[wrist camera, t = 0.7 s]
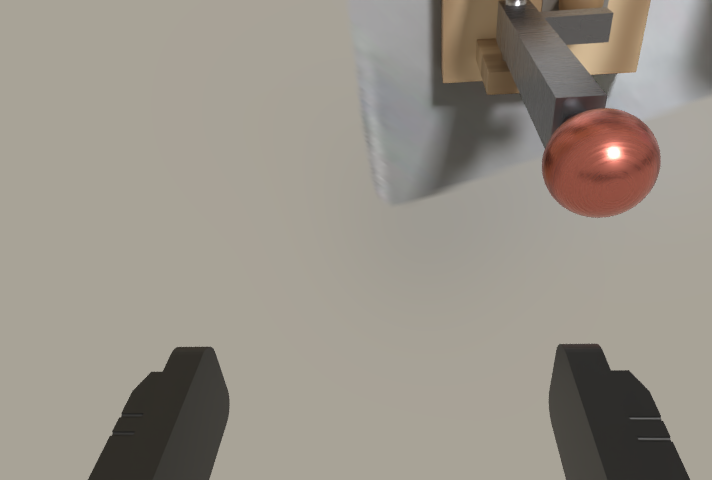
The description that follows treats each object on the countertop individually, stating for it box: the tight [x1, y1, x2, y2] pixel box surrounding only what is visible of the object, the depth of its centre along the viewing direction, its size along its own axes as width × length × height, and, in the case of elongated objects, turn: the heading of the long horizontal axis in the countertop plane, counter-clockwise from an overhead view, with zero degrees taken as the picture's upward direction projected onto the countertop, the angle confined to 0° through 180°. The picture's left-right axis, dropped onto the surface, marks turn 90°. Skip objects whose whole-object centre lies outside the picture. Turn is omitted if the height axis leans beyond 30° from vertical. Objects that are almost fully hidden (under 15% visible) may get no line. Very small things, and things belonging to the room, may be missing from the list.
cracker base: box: [441, 0, 651, 95], centre depth 36 cm, size 14×11×10 cm
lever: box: [496, 0, 660, 218], centre depth 25 cm, size 7×4×21 cm, turn 95°
